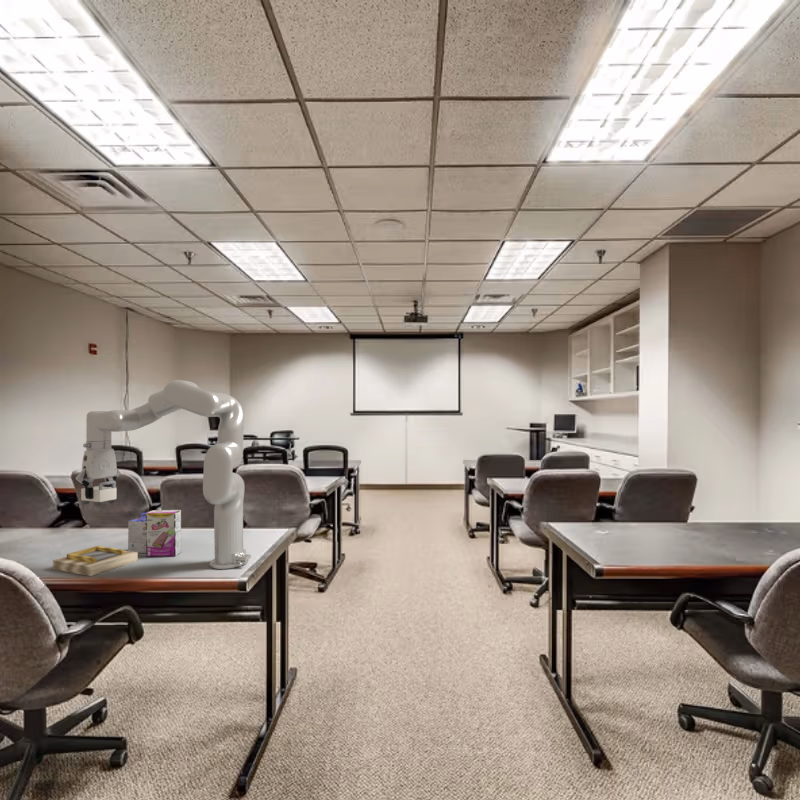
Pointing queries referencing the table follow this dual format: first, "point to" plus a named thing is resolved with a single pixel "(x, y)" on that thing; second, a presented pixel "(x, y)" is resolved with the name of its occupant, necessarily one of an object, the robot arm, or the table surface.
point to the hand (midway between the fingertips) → (98, 496)
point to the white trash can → (101, 494)
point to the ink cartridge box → (137, 535)
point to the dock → (94, 560)
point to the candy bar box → (163, 533)
